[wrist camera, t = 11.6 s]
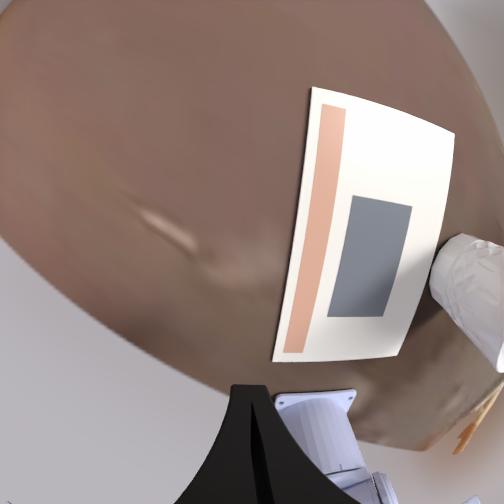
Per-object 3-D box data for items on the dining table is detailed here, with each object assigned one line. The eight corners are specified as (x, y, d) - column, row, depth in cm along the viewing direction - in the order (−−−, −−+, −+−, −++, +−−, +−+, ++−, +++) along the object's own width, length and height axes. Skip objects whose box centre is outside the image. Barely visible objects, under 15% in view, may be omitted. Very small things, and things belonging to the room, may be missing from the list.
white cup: (411, 308, 21) (479, 383, 11) (438, 219, 18) (534, 267, 9) (464, 307, 21) (524, 362, 12) (488, 232, 19) (564, 273, 9)
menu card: (395, 354, 22) (396, 355, 22) (272, 360, 21) (272, 362, 21) (452, 133, 16) (454, 134, 15) (311, 87, 15) (312, 86, 14)
